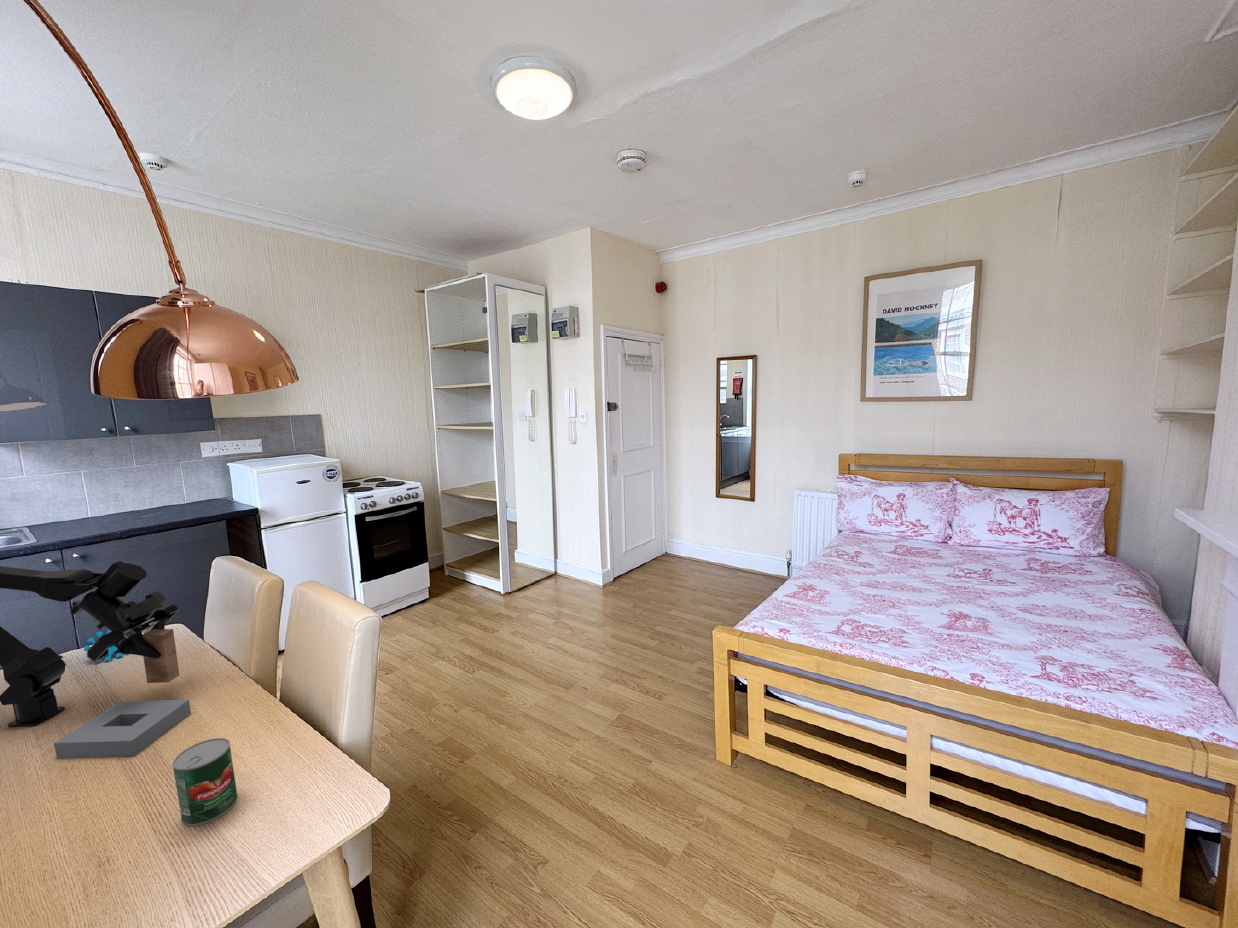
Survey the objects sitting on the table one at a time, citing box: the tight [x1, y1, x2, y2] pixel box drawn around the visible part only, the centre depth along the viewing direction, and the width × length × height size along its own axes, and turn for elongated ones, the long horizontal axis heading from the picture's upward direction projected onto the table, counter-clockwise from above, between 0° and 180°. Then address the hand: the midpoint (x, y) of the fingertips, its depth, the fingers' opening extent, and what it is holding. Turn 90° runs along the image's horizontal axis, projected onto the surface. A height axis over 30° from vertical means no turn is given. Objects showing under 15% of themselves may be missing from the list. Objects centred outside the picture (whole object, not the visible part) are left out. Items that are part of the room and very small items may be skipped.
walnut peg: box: [142, 628, 180, 684], centre depth 119 cm, size 5×3×12 cm, turn 92°
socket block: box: [53, 699, 192, 759], centre depth 110 cm, size 16×14×4 cm
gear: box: [83, 629, 123, 663], centre depth 145 cm, size 11×6×10 cm
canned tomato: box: [171, 737, 239, 827], centre depth 89 cm, size 8×8×11 cm
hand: (165, 653), depth 119 cm, fingers closed on walnut peg, 3 cm apart
